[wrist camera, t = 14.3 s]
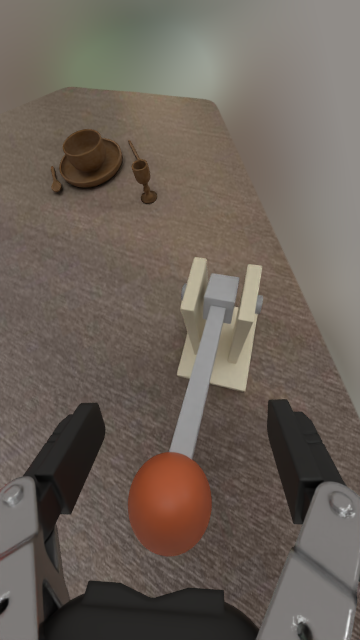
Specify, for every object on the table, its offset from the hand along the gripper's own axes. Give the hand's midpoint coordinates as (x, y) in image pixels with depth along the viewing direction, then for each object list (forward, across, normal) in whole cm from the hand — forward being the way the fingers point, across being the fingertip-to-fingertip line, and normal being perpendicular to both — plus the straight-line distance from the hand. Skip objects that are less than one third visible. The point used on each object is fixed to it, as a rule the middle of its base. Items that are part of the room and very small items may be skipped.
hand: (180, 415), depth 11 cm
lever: (+4, -1, +2) cm, 5 cm away
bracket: (+19, -2, +7) cm, 20 cm away
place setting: (+41, +17, -16) cm, 47 cm away
